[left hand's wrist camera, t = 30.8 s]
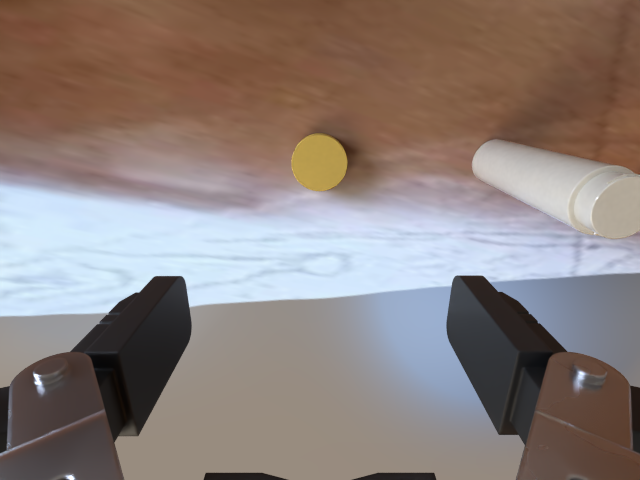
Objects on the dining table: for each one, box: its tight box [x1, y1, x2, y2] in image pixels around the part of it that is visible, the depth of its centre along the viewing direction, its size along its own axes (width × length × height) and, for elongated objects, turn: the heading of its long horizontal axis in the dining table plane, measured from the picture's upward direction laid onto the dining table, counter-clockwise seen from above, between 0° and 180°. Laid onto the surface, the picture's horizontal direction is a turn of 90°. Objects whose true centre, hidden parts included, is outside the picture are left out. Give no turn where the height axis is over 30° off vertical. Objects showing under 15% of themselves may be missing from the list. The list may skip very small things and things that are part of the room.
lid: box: [292, 133, 347, 191], centre depth 36 cm, size 5×5×2 cm
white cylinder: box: [472, 139, 640, 239], centre depth 29 cm, size 4×4×17 cm
